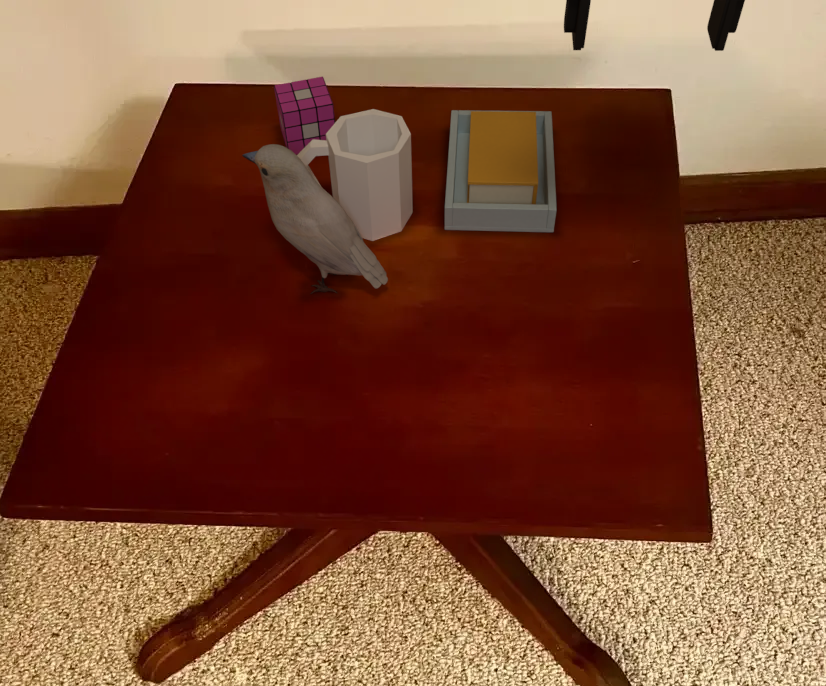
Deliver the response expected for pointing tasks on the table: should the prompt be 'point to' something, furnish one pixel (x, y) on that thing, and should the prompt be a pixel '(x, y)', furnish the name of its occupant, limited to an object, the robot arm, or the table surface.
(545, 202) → the tray
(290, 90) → the puzzle toy
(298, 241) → the bird
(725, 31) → the robot arm
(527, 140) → the book
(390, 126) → the mug
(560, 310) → the table surface
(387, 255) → the table surface
